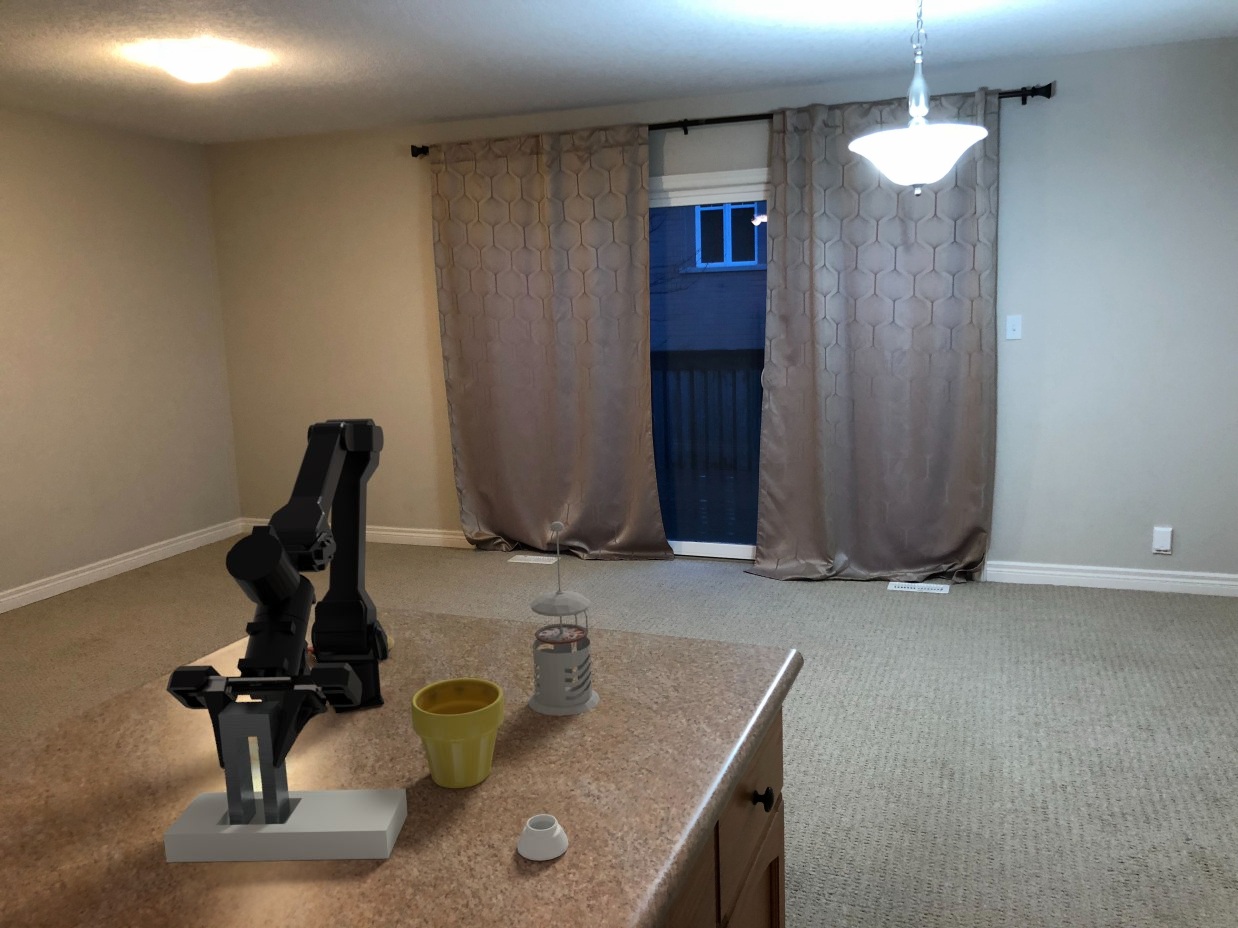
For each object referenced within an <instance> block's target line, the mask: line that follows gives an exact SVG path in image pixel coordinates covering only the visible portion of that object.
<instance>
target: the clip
mask: <svg viewBox="0 0 1238 928" xmlns="http://www.w3.org/2000/svg"><path fill="white" fill-rule="evenodd" d="M280 714H281V709H280V701H262V700H258V701H257V700H253V701H236V702H231V703H230V704H229V705H228V706H227V707H226V708H225V709H224V710H223V711H222V712H221V713H220V714H219V715H218V716H219V726H220V735H221V744H222V754H223V762H224V766H225V767H224V771H223V772H224V781H225V789H226V790H225V792H227V800H228V809H229V818H230V825H248V824H249V823H250V821H251V820H252V819H253V817H254V816H255V814H256V807H255V798H254V792H255V789H254V781H253V780H254V779H253V778H254V777H253V770H252V761H251V760H252V759H251V750H250V742H249V741H250V740H249V738H256V743H257V753H258V762H259V772H260V773H259V774H260V781H261V782H260V783H261V791H262V794H263V803H264V813H265V823H266V824H284V822H285V820H286V819H287V817H288V816H289V814H290V803H289V792H288V791H289V786H288V785H289V783H288V773H287V765H286V764H287V763H286V759H285V760H284V762H283V763H282V765H281V767H280V768H279V769H276V768H274V767H273V757H274V745H275V740H276V735H277V730H278V725H279V720H280Z"/></svg>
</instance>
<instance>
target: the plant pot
mask: <svg viewBox="0 0 1238 928" xmlns="http://www.w3.org/2000/svg"><path fill="white" fill-rule="evenodd" d="M410 706H411V708H410V709H411V721H412V728H413V731H414V732H415V734H416V735H418V736H419V737H420V740H421V743H422V748H423V750H424V754H425V757H426V760H427V764H428V768H429V771H430V774H431V778H432V780H433V782H434V783H435V784H437V785H438V786H440V787H443V788H446V789H447V788H449V789H463V788H464V789H465V788H469V787H473V786H476V785H478V784H480V783H482V782H483V781H485V780H486V778H488V776H489V775H490V772H491V769H492V762H493V755H494V749H495V745H496V739H497V733H498V729H499V728H500V727H501V725H502V724H503V721H504V718H505V717H504V693H503V690H502V688H501V686H499V684H496V683H494V682H493V681H490V680H486V679H481V678H476V677H475V678H474V677H460V678H458V677H457V678H450V679H449V678H448V679H444V680H439V681H437V682H433V683H431V684H428V685H426V686H424V687H422V688H421V689H419V690H417V692H416V693H415V694H414V695H413V697H412V699H411V703H410Z"/></svg>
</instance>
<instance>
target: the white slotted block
mask: <svg viewBox="0 0 1238 928" xmlns="http://www.w3.org/2000/svg"><path fill="white" fill-rule="evenodd" d="M406 790H407V789H406V788H382V789H381V788H380V789H375V788H374V789H331V790H330V789H328V790H327V789H325V790H321V789H318V790H315V789H314V790H288V792H289V803H290V814H289V816H288V817H287V819H286V820H285V822H284V824H266V823H265V813H264V803H263V794H262V790H261V791H260V790H259V791H254V798H255V807H256V814H255V816H254V817H253V819H252V820H251V821H250V823H249V824H248V825H230V818H229V809H228V800H227V791H217V792H216V791H214V792H213V791H211V792H210V791H209V792H207V791H205V792H199V793H198V794H197V795H196V796H195V798H194V799H192V801H191V802H190V804H189V805H187V807H185V809H184V810H183V812H182V813H181V814H180V815H179V816H178V817H177V818H176V819H175V821H174V822H173V823H172V824H171V825H170V826H169V827H168V828H167V830H166V831H165V832H164V833H163V840H164V850H165V859H166V863H193V862H194V863H195V862H196V863H197V862H199V863H200V862H202V863H205V862H206V863H207V862H260V861H261V862H262V861H263V862H264V861H317V860H318V861H319V860H320V861H321V860H323V861H324V860H329V861H330V860H369V859H370V860H374V859H375V860H376V859H377V860H381V859H385V860H386V859H389V858H390V856H391V854H392V852H393V850H394V849H393V848H394V847H395V844H396V842H397V840H398V837H399V835H400V833H401V831H402V828H403V825H404V824H405V822H406V819H407V817H408V805H407V791H406Z"/></svg>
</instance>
